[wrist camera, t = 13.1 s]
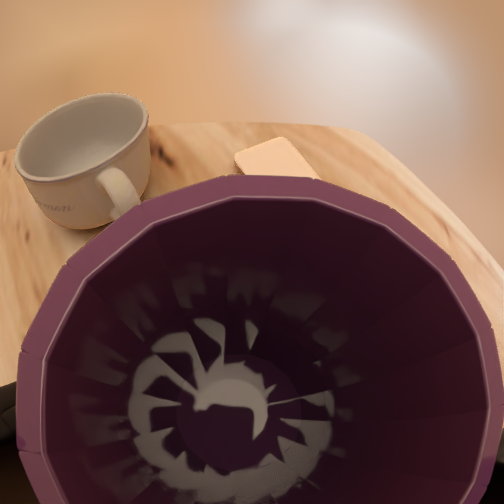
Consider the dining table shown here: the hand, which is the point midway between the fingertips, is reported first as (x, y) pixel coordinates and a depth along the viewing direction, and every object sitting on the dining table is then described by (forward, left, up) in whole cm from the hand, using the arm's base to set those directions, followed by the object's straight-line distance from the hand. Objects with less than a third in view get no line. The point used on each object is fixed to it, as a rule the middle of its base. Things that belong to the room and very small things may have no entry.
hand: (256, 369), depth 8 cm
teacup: (+18, +1, -12) cm, 22 cm away
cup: (-1, +1, -7) cm, 7 cm away
